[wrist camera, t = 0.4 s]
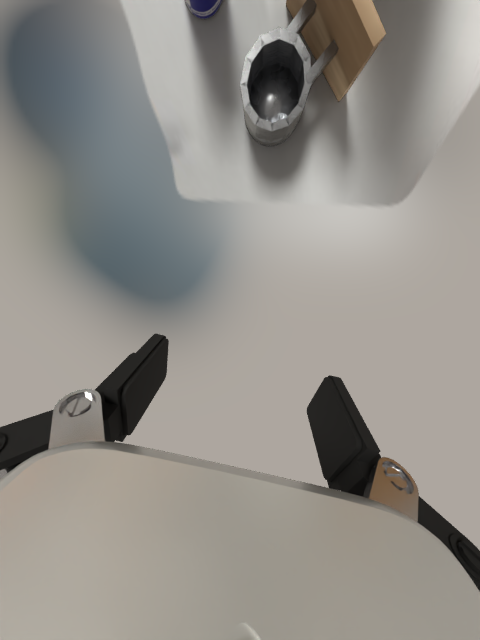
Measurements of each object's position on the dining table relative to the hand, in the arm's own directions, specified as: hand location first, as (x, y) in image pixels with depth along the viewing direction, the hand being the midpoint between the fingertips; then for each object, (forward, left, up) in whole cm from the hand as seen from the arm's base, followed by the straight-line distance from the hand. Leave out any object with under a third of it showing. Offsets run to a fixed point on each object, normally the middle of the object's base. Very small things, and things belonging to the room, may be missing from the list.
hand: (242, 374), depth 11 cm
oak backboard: (-29, -1, -30) cm, 42 cm away
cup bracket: (-24, -4, -30) cm, 38 cm away
